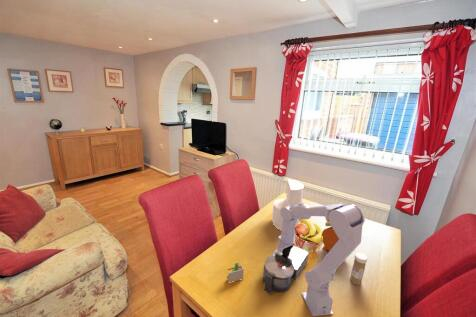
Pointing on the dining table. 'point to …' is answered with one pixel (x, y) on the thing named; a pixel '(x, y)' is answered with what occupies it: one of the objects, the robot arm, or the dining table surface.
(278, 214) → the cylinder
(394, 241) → the dining table surface
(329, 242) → the orange lumpy piece
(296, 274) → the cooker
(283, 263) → the lid
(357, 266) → the sprinkles bottle
